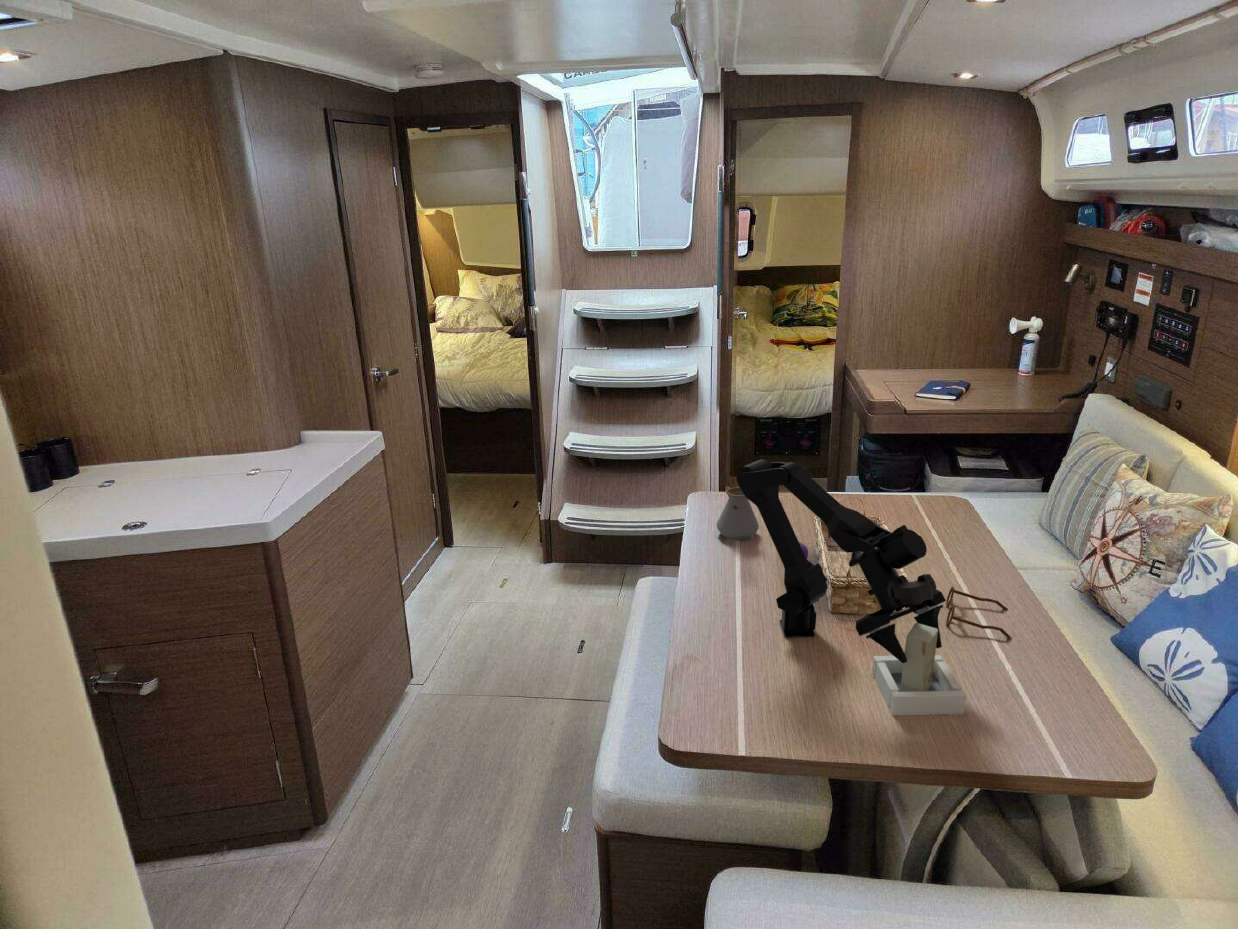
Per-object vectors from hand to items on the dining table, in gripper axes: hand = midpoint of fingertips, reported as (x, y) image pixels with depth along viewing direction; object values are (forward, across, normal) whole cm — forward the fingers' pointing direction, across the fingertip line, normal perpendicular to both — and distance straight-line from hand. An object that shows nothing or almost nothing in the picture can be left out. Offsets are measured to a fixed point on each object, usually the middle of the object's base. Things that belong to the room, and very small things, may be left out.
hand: (922, 655), depth 149 cm
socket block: (+6, 0, +6) cm, 9 cm away
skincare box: (+5, 0, +6) cm, 8 cm away
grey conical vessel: (-44, +11, +57) cm, 72 cm away
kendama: (-27, +12, +40) cm, 50 cm away
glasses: (-2, +32, +15) cm, 36 cm away
